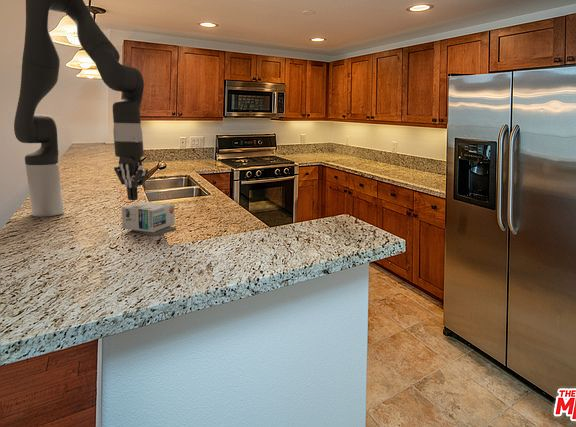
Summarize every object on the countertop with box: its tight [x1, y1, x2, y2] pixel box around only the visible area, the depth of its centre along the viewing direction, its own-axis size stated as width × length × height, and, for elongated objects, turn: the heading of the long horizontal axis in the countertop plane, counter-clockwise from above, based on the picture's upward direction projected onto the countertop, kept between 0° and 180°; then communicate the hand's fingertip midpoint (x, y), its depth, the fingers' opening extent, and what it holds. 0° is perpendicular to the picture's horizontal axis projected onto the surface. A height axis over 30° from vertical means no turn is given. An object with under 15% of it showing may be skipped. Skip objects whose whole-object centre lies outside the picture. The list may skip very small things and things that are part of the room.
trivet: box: [131, 226, 177, 237], centre depth 109 cm, size 10×8×1 cm
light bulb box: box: [121, 201, 176, 233], centre depth 109 cm, size 11×7×11 cm
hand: (132, 199), depth 107 cm, fingers closed
